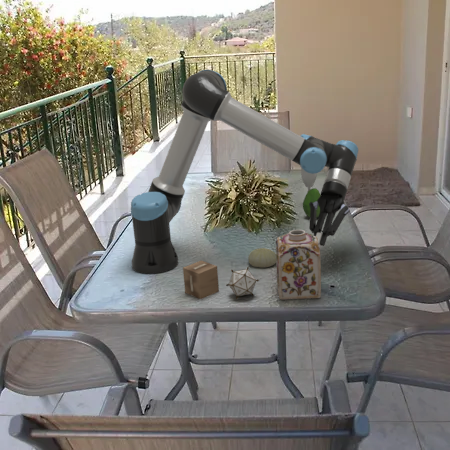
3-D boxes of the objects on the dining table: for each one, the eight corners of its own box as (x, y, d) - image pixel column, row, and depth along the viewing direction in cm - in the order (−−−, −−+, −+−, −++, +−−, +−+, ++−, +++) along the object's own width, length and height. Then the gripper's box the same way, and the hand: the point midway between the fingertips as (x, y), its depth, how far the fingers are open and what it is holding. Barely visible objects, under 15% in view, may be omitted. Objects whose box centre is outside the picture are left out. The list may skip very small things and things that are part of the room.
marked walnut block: (184, 293, 171) (182, 267, 169) (203, 285, 176) (201, 259, 173) (200, 299, 166) (198, 273, 164) (218, 291, 171) (217, 265, 168)
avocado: (323, 214, 234) (323, 185, 230) (323, 220, 226) (323, 190, 223) (303, 214, 235) (302, 185, 231) (302, 220, 228) (301, 191, 224)
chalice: (320, 206, 245) (320, 164, 239) (314, 210, 240) (313, 167, 234) (304, 204, 249) (304, 162, 243) (297, 208, 243) (296, 166, 238)
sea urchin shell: (271, 265, 182) (254, 246, 183) (256, 279, 186) (240, 260, 188) (284, 256, 189) (268, 237, 190) (269, 269, 194) (254, 250, 195)
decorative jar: (321, 299, 162) (321, 237, 156) (279, 300, 162) (277, 240, 157) (316, 281, 173) (315, 223, 168) (276, 283, 174) (274, 225, 168)
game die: (248, 309, 167) (255, 291, 159) (220, 298, 168) (225, 280, 160) (257, 284, 172) (264, 266, 164) (230, 274, 173) (236, 255, 165)
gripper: (358, 194, 182) (338, 262, 174) (319, 190, 189) (298, 256, 181) (352, 181, 177) (331, 251, 169) (312, 178, 183) (290, 245, 175)
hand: (314, 254), depth 175 cm, fingers closed
